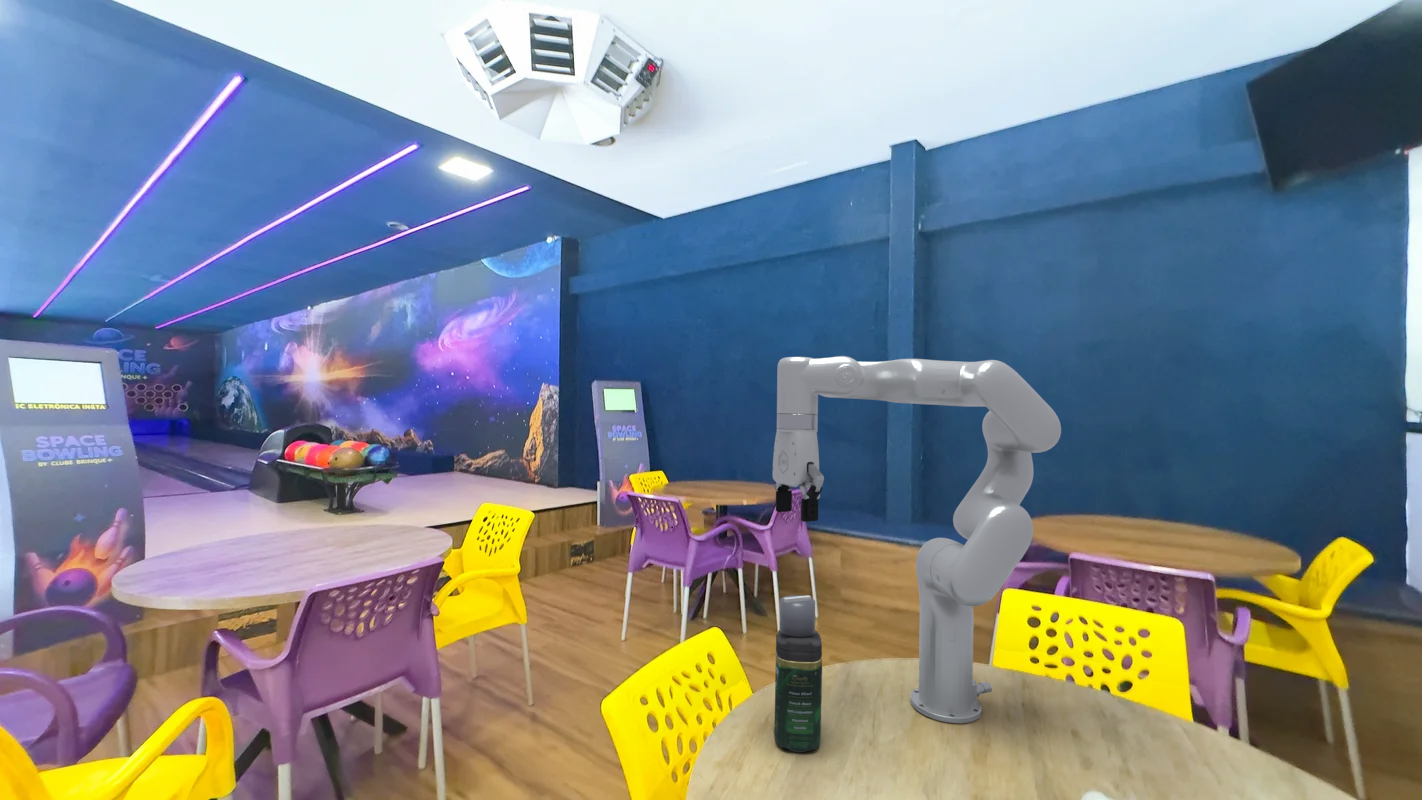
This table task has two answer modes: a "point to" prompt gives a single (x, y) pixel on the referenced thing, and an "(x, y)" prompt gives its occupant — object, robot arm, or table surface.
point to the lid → (797, 615)
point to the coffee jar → (798, 692)
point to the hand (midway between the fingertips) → (796, 516)
